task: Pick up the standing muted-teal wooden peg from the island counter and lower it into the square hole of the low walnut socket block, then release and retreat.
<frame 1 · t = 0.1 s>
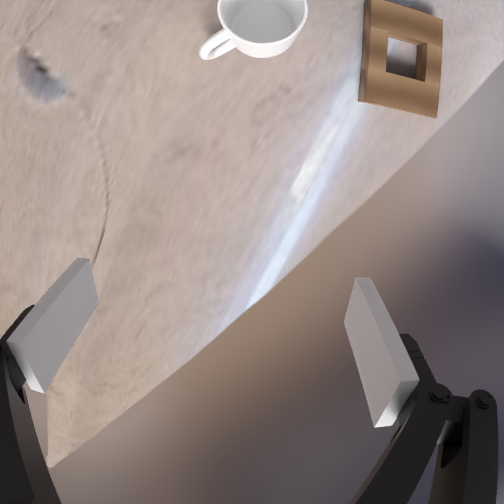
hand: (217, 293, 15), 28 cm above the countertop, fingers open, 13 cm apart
cup: (249, 36, 33), on the countertop
socket: (398, 58, 33), on the countertop
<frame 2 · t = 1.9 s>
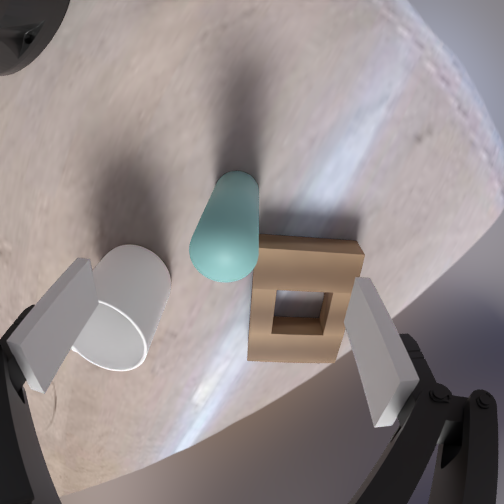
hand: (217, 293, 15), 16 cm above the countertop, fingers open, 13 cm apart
cup: (126, 283, 34), on the countertop
socket: (298, 297, 34), on the countertop
peg: (236, 192, 29), on the countertop
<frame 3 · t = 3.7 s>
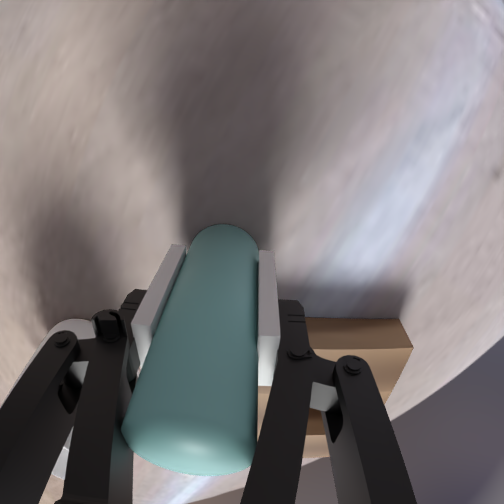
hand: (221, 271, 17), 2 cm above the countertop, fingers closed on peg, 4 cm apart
cup: (83, 360, 24), on the countertop
socket: (312, 386, 24), on the countertop
peg: (224, 256, 19), on the countertop, touching gripper
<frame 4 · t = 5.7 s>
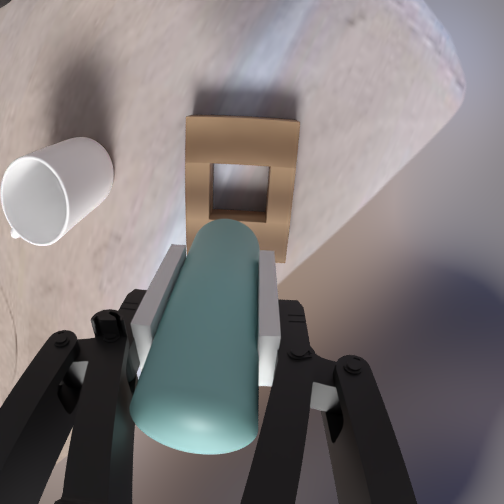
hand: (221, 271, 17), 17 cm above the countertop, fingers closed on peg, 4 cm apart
cup: (75, 181, 32), on the countertop
socket: (240, 184, 32), on the countertop
peg: (225, 250, 19), point 15 cm above the countertop, touching gripper
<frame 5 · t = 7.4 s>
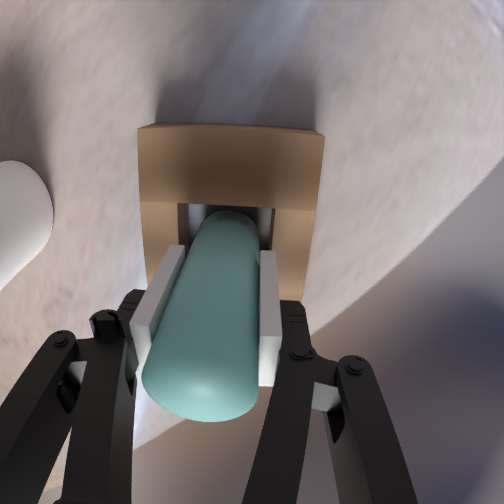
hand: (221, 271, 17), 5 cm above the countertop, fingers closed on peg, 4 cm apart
cup: (11, 218, 22), on the countertop
socket: (228, 229, 22), on the countertop
peg: (228, 239, 21), point 1 cm above the countertop, touching gripper
when the fingers open (4 cm above the countertop, at t = 7.8 s): peg stays where it is, resting in socket.
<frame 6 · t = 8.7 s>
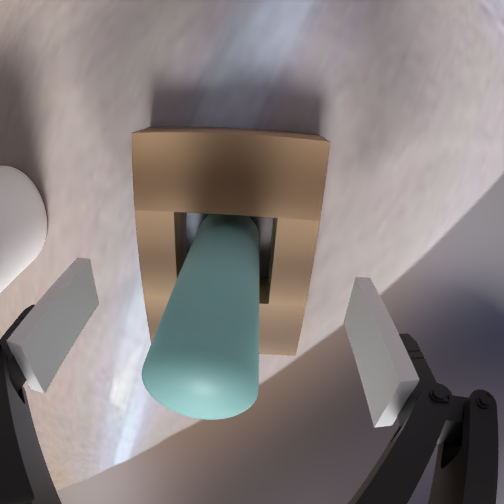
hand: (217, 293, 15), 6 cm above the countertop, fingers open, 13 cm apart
cup: (5, 225, 21), on the countertop
socket: (228, 238, 21), on the countertop
peg: (228, 238, 21), resting in socket
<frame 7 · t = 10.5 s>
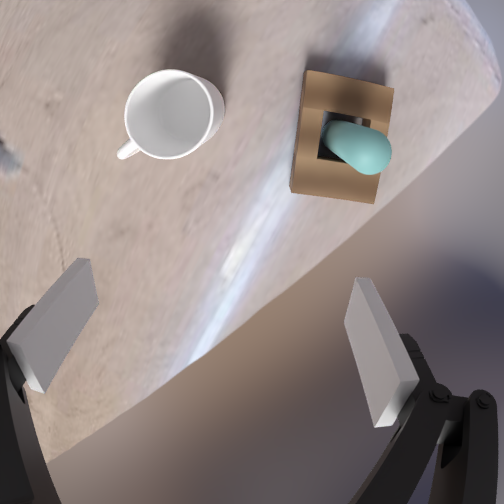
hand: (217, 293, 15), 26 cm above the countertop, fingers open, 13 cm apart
cup: (178, 119, 36), on the countertop
socket: (338, 135, 36), on the countertop
peg: (338, 135, 36), resting in socket
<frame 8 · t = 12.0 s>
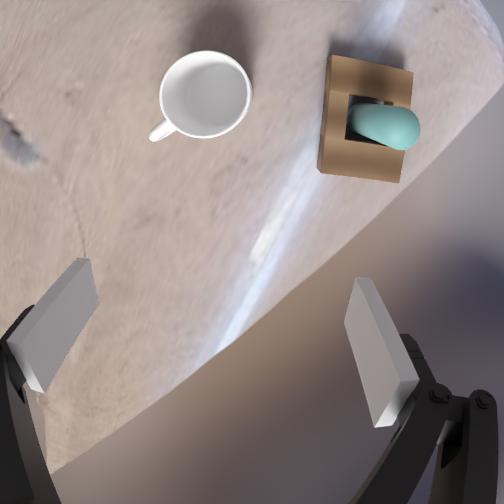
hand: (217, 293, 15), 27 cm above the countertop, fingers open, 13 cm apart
cup: (205, 104, 36), on the countertop
socket: (362, 118, 36), on the countertop
peg: (361, 118, 36), resting in socket
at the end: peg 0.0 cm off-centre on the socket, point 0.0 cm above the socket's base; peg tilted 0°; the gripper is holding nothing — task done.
